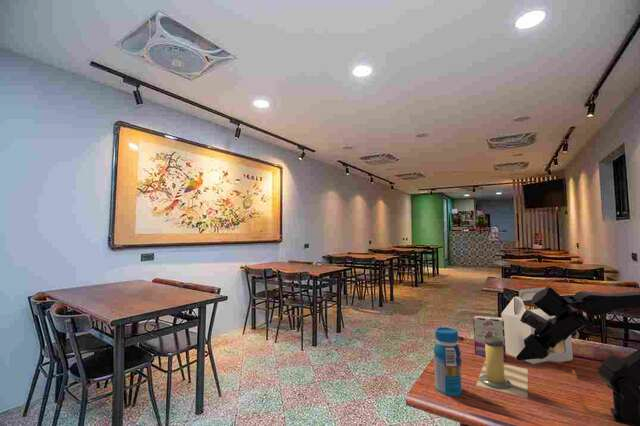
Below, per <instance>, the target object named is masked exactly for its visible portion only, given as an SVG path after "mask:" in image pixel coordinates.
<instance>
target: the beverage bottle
mask: <svg viewBox="0 0 640 426" xmlns="http://www.w3.org/2000/svg"><path fill="white" fill-rule="evenodd" d="M434 333H435V335H434V336H435V340H436V342H435V344H434V347H433V353H434V355H433V363H434V382H435V383H434V388H435V390H436V391H437V392H438V393H440V394H442V395H444V396H450V397H457V396H460V395H462V394H463V383H462V382H463V381H462V380H463V378H462V366H463V362H462V361H463V360H462V358H461V355H462V352H461V349H460V347H459V345H458V344H457V343H458V341H459V332H458V330H456V329H455V328H452V327H443V326H441V327H436V328H435V332H434Z"/></svg>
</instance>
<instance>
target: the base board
mask: <svg viewBox="0 0 640 426" xmlns="http://www.w3.org/2000/svg"><path fill="white" fill-rule="evenodd" d="M482 375H487V372H486V360H484V362H483V365H482V367H481V371H480V374H479V376H478V379H477V382H476V384H475V386H476V387H477V388H483V389H486V390H492V391H495V392H499V393H503V394H508V395H513V396H517V397H521V398H525V399H528V389H529V388H528V387H529V384H528V383H529V381H528V379H529V378H528V377H529V369H528V368H524V367H519V366H515V365H509V364H504V378H506V379H507V380H509V381H510V382H511V387H510V388H508V389H496V388H492V387H489V386H486V385H484V384H483V383H482V382H481V381H480V376H482Z"/></svg>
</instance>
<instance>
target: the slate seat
mask: <svg viewBox="0 0 640 426" xmlns="http://www.w3.org/2000/svg"><path fill="white" fill-rule="evenodd" d="M479 376H480V375H479ZM480 381H481V382H482V383H483V384H484V385H486V386H489V387H492V388H496V389H508V388H510V387H511V382H510V381H509V380H507V379H506V378H505V383H504V384H494V383H491V382H489V381H488V380H487V375H482V376H480Z"/></svg>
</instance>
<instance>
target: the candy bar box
mask: <svg viewBox="0 0 640 426" xmlns="http://www.w3.org/2000/svg"><path fill="white" fill-rule="evenodd" d="M472 317H473V318H472V319H473V320H472V323H473V337H474V338H473V339H474V340H473V341H474V354H475V355H476V356H477V355H478V356H482V357H483V356H484V357H486V350H485V339H486V338H495V339H499V340H502V341H503V358H504V360H506V359H507V353H506V349H505V333H504V320H503V318H502V317H497V316H487V315H475V314H473V316H472Z"/></svg>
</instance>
